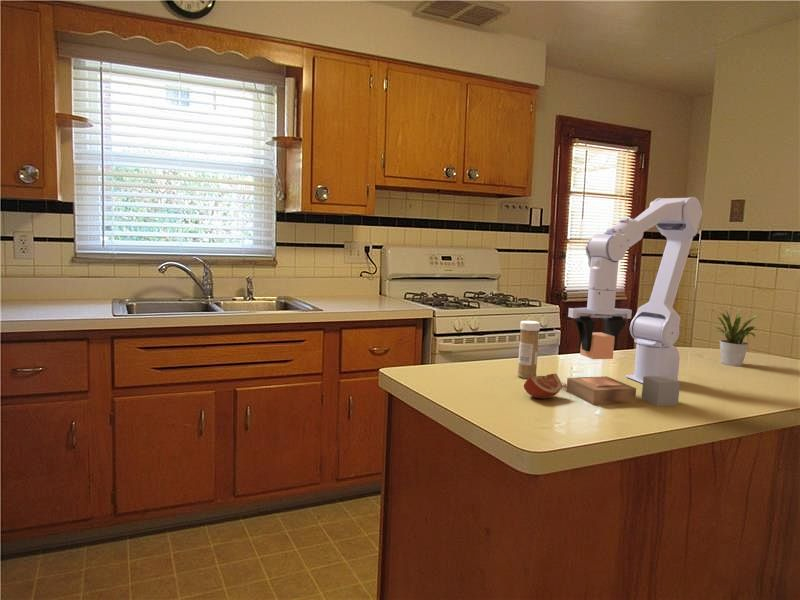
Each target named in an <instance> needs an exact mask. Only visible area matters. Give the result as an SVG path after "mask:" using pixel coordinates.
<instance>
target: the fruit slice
mask: <svg viewBox="0 0 800 600" xmlns="http://www.w3.org/2000/svg"><path fill="white" fill-rule="evenodd" d="M562 387H563V386H562V381H561V380H560V377H559V376H558V375H557V373H551V374H550V373H549V374H547V375H537V376H533V377H530V378H529V379H526V381H525V382H524V385H523V389H524V390H525V391H526V393H527V394H529V395H530V396H531V397H533V398H535V399H548V398H551V397H554V396H556V395H557V394H558V393H559V392H560V391H561V390H562Z"/></svg>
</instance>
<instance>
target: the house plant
mask: <svg viewBox="0 0 800 600" xmlns="http://www.w3.org/2000/svg"><path fill="white" fill-rule="evenodd" d="M741 308H742V306H740V307H739V309H738V310H737V312H736V315H735V318H734V322H733V326H732V322H731V318H730V315H729V312H728V311H727V310H726V309H723V308H722V310H720V312H719V315H721V316H722V317H721V316H716V318H717V319H718V321H720V322H721V324H722V326H723V328H724V329H723V328H720V326H719V327H718V326H713V327H712V329H717V330H719V332H720V333H723V336H725V338H726V339H720V340H719V350H720V363H721V364H723V365H727V366H732V367H741V366H743V364H744V359H745V357H746V353H747V350H748V347H749V343H748V342H746V341H744V339H745V337H746V338H749V335H751V336H753V338H756V334H755V332H752V331H756V330H757V331H758V328H756V326H754V325H753V326H751V325H750V326H748V325H749V324H750V323H751V322H753V321H754V320H755V319H756V318H759V316H760V315H761V314H755V315H753V316H751V317H750V318H748V319H747V320H746V321H745V322H744V323H743V324H742V326H741V321H742V319H743V318H744V317H742V316H743V314H742V315H741V313H740V310H741ZM706 310H708V311H709V309H708V308H706ZM710 311H712V312H713V313H715V314H717V312H715V311H714V310H712V309H710ZM724 311H725V312H726V314H727V315H726V314H725V312H724ZM746 312H747V311H745V312H744V314H746ZM722 318H723V319H722ZM723 320H724V321H725V322H724V321H723ZM740 326H741V328H740ZM747 326H748V327H747Z"/></svg>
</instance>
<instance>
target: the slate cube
mask: <svg viewBox="0 0 800 600" xmlns="http://www.w3.org/2000/svg"><path fill="white" fill-rule="evenodd" d="M680 385H681V381H679V380H677V381H676V380H673V379H671V378H668V377H665V376H644V377H643V383H642V388H641V400H642V401H644V402H648V403H650V404H652V405H654V406H656V407H662V406H663V407H665V406H666V405H668V406H678V405H679V396H680V388H681V386H680Z"/></svg>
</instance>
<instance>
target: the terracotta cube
mask: <svg viewBox="0 0 800 600" xmlns="http://www.w3.org/2000/svg"><path fill="white" fill-rule="evenodd" d="M614 339H615V336H612V335H608V334H605V332H597V331H596V332H594V331H593V333H592V339H591V348H590V351H585V350H582V344H581V343H580V350H579V351H580V353H579V354H580V355H581V356H584V357H586V358H589V359H591V360H612V359H613V360H614V349H615V344H614Z"/></svg>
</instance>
